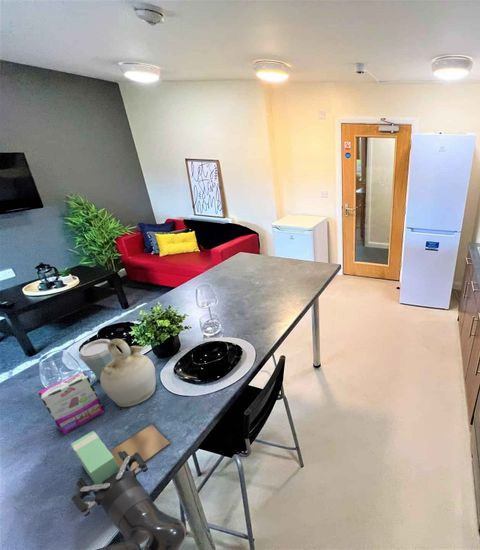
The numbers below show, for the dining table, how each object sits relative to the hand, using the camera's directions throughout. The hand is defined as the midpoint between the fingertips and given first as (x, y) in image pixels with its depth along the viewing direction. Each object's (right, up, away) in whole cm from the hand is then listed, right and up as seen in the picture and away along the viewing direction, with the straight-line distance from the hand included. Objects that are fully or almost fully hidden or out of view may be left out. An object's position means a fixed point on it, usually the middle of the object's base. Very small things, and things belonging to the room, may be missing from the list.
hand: (101, 466), depth 79 cm
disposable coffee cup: (-31, +12, +37) cm, 50 cm away
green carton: (-3, -5, +4) cm, 7 cm away
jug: (-14, +7, +30) cm, 34 cm away
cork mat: (+2, -2, +11) cm, 11 cm away
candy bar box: (-24, +3, +19) cm, 31 cm away
